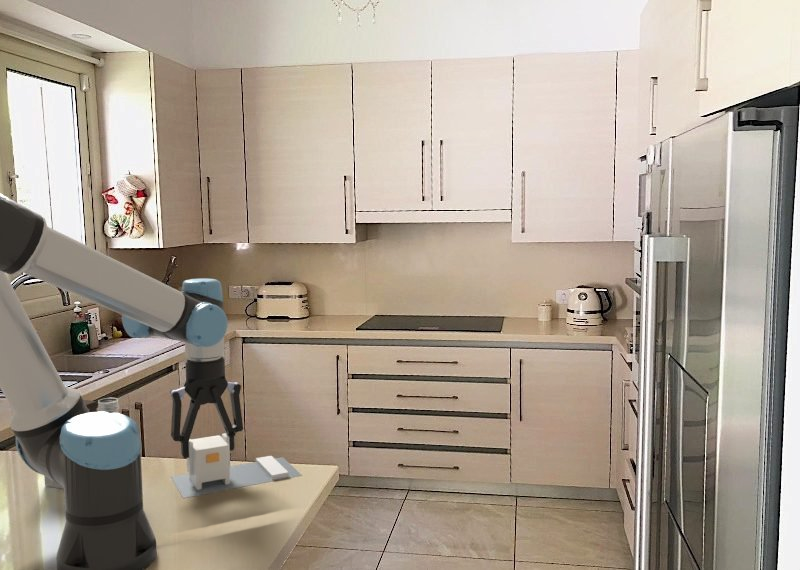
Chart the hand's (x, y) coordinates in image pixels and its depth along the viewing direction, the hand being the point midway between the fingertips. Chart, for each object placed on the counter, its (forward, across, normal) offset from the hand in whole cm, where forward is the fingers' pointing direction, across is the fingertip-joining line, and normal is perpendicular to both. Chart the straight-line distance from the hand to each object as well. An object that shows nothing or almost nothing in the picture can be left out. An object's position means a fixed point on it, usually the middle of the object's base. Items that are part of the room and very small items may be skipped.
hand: (208, 469), depth 150 cm
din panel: (+4, -6, 0) cm, 7 cm away
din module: (+2, 0, 0) cm, 2 cm away
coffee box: (+4, +24, -18) cm, 30 cm away
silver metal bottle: (+4, +18, -3) cm, 19 cm away
